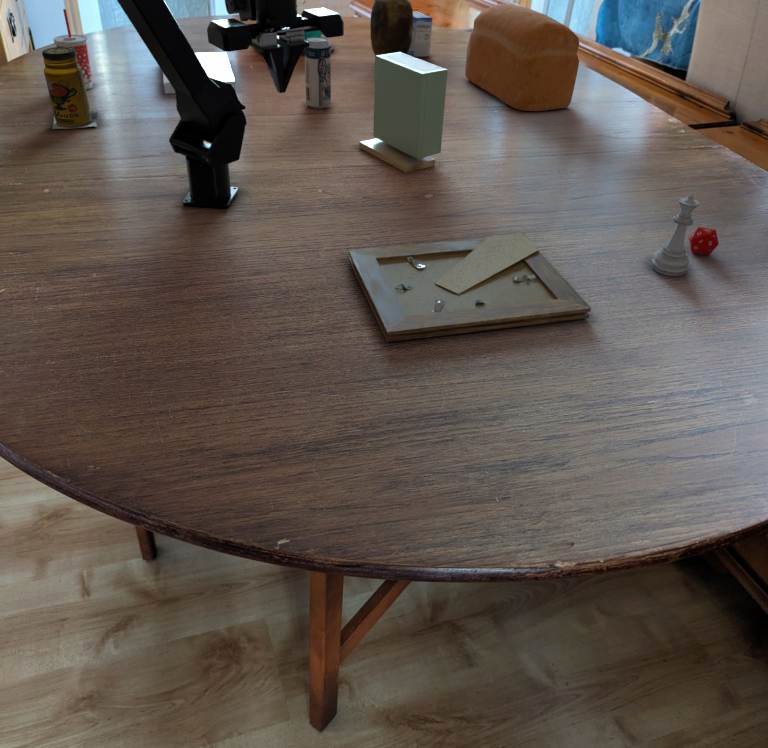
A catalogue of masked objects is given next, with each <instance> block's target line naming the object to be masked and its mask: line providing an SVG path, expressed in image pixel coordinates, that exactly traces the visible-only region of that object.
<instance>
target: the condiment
mask: <svg viewBox="0 0 768 748" xmlns="http://www.w3.org/2000/svg"><path fill="white" fill-rule="evenodd" d="M41 53H42V55H41V56H42V58H43V64H44V65H45V66H44V68H43V74H44V78H45V82H46V86H47V91H48V95H49V99H50V103H51V107H52V108H51V109H52V112H53V121H52V130H63V129H64V130H68V129H82V128H88V127H89V128H90V127H98V110H92V111H91V106H90V101H89V96H88V93H87V89H86V86H85V82H84V77H83V72H82V68H81V67H80V66H79V64H78V59H77V57H76V52H75V50H74V49H73V48H69V47H57V46H53V47H48V48H44V49H43V50H42V52H41Z"/></svg>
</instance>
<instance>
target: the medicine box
mask: <svg viewBox="0 0 768 748" xmlns="http://www.w3.org/2000/svg"><path fill="white" fill-rule="evenodd" d="M432 31H433V17H431V16H428V15H426V14H424V13H422V12H420V11H417V10H413V30H412V42H411V46H410V49H409V51H408V53H407V55H410V56H412V57H415V58H422V57H423V58H425V57H429V56H430V55H431V45H432V43H431V42H432Z"/></svg>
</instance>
